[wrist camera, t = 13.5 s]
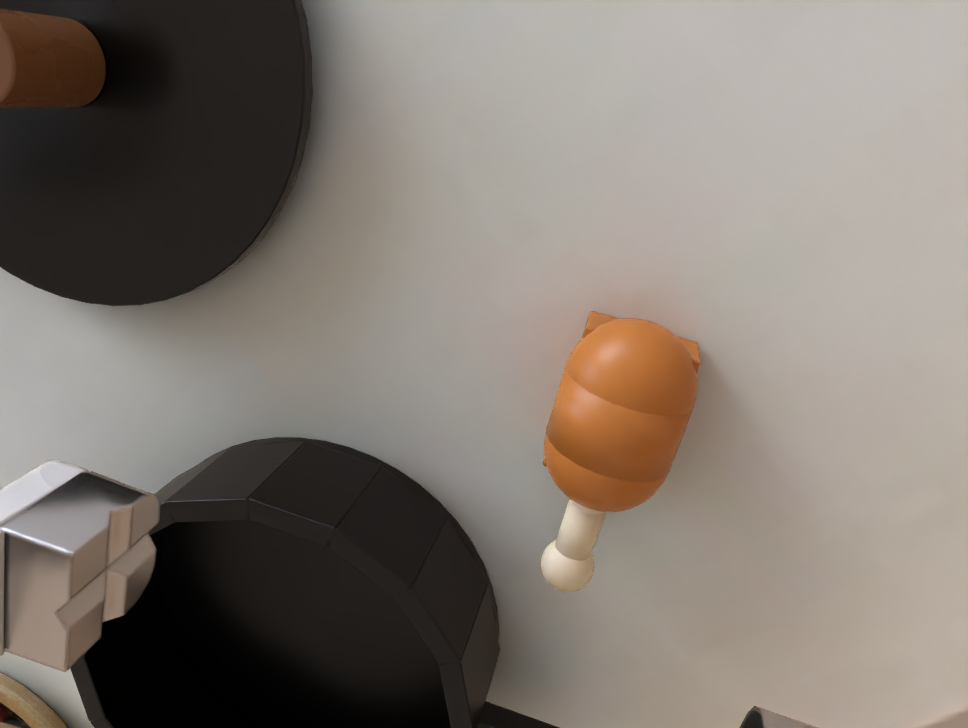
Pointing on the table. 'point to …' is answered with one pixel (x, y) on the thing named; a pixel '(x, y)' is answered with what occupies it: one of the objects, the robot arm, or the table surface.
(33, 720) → the toy sandwich meal
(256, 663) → the pan
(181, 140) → the lid
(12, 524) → the robot arm
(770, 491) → the table surface
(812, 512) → the table surface
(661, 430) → the chicken leg
